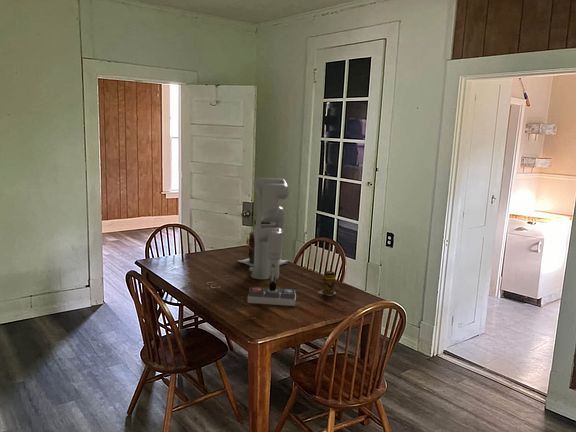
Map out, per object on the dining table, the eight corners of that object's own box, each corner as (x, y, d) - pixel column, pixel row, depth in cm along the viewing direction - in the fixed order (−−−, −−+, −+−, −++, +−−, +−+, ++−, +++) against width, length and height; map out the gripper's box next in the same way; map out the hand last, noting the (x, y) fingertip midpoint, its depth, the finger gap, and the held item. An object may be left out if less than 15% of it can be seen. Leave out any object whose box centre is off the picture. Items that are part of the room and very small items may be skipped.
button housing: (247, 302, 239) (247, 292, 238) (249, 296, 249) (250, 286, 248) (295, 305, 238) (295, 295, 237) (295, 299, 248) (296, 288, 247)
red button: (251, 294, 241) (251, 290, 240) (252, 291, 246) (252, 287, 245) (261, 295, 241) (261, 291, 240) (262, 291, 246) (262, 287, 245)
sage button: (266, 295, 240) (267, 291, 240) (267, 291, 246) (267, 288, 245) (277, 295, 240) (277, 292, 240) (277, 292, 245) (277, 288, 245)
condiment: (331, 296, 255) (332, 274, 253) (317, 293, 259) (318, 271, 257) (336, 292, 261) (338, 271, 259) (322, 289, 266) (324, 268, 263)
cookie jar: (261, 256, 329) (263, 210, 323) (289, 263, 314) (291, 216, 308) (235, 262, 310) (237, 214, 305) (263, 271, 295) (265, 220, 289)
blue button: (282, 296, 240) (282, 292, 240) (283, 292, 245) (283, 289, 245) (292, 297, 240) (293, 293, 240) (293, 293, 245) (293, 289, 245)
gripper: (280, 259, 232) (279, 295, 235) (282, 252, 247) (280, 286, 250) (265, 258, 232) (263, 294, 235) (268, 251, 247) (266, 285, 250)
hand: (272, 290), depth 242 cm, fingers closed
